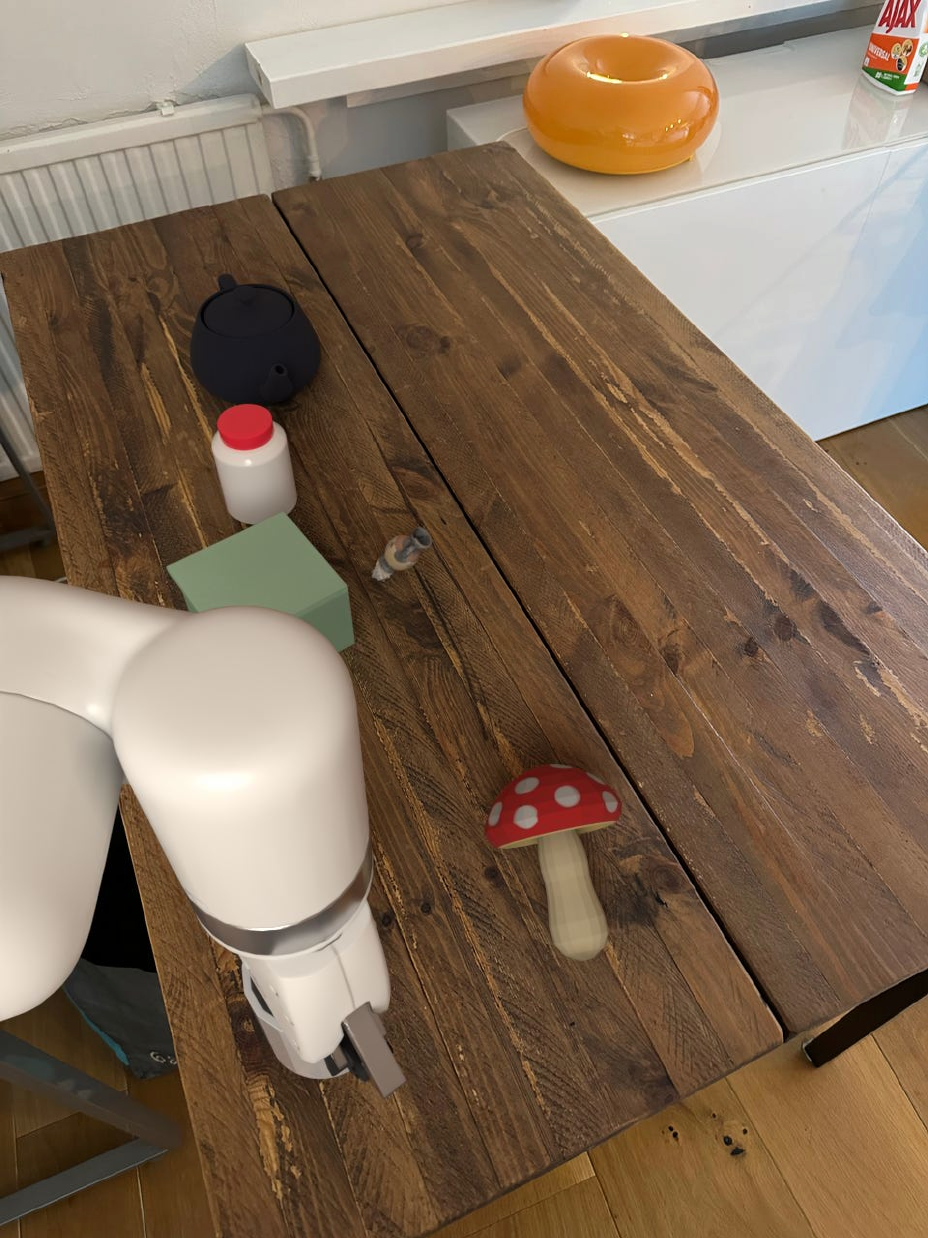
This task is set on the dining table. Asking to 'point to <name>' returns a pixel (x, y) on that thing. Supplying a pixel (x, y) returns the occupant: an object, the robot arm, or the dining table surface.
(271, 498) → the pill bottle
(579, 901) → the decorative mushroom
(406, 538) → the vase
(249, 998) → the cup
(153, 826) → the robot arm
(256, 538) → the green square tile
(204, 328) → the teapot
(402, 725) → the dining table surface
